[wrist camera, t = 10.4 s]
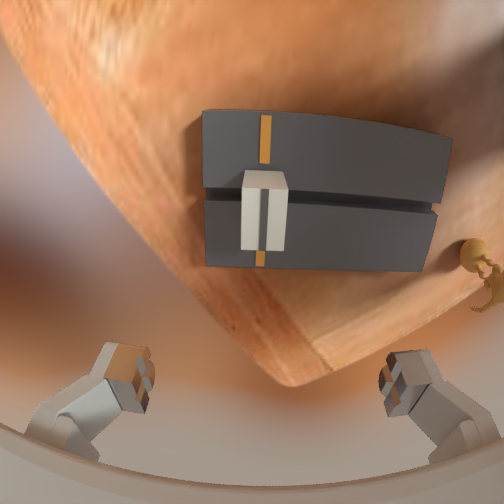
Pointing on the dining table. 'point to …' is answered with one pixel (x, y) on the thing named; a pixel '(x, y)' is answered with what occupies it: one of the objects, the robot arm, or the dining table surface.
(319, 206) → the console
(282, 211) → the fader tab
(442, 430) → the robot arm
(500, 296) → the figurine
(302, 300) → the dining table surface
